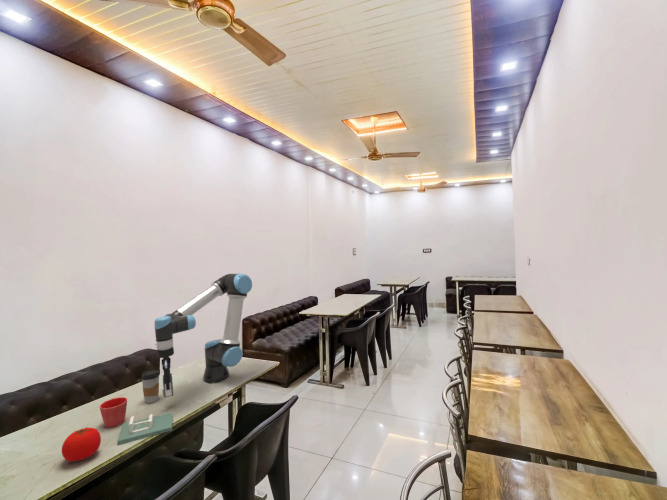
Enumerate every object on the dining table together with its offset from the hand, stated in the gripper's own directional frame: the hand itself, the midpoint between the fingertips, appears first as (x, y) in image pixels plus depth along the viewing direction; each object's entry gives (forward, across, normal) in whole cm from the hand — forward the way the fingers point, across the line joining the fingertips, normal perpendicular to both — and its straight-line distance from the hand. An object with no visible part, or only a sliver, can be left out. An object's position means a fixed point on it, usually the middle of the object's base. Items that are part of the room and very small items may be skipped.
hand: (168, 393), depth 162 cm
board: (+7, +17, -9) cm, 21 cm away
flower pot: (+7, +3, -23) cm, 24 cm away
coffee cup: (+7, -14, -9) cm, 18 cm away
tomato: (+6, +27, -30) cm, 41 cm away
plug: (+1, 0, 0) cm, 1 cm away
